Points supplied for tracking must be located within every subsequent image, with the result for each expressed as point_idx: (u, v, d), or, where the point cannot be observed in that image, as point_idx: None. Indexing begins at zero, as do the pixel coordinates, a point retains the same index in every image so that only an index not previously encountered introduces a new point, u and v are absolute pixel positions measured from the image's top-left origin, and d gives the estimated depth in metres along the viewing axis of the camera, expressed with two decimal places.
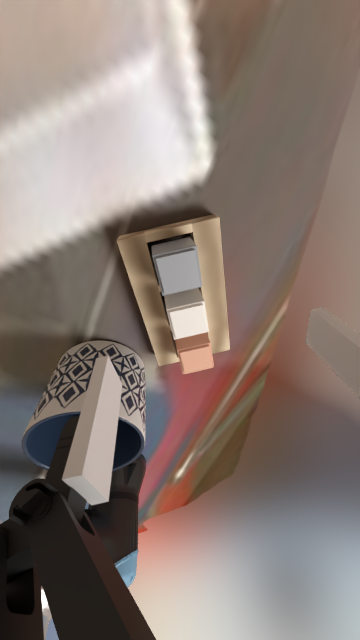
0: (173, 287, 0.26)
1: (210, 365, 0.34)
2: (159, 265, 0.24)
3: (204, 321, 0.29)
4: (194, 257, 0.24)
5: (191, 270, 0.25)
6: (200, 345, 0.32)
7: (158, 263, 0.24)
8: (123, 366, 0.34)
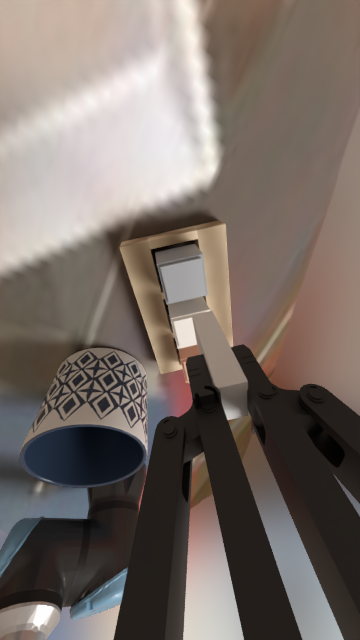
0: (178, 296, 0.25)
1: None
2: (164, 274, 0.23)
3: None
4: (200, 265, 0.23)
5: (197, 279, 0.24)
6: None
7: (163, 271, 0.23)
8: (125, 375, 0.34)
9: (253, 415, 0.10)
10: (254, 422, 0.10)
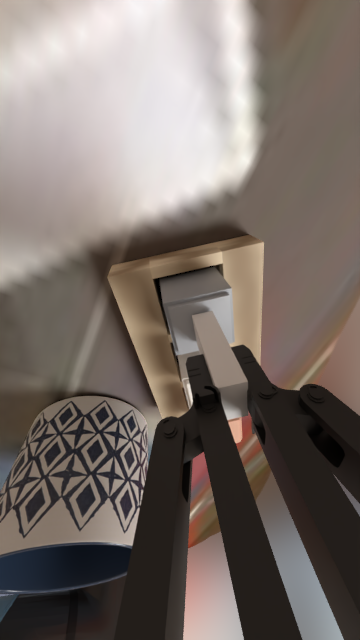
0: (193, 345, 0.17)
1: (238, 439, 0.24)
2: (173, 317, 0.16)
3: None
4: (227, 305, 0.16)
5: (221, 323, 0.16)
6: None
7: (172, 315, 0.15)
8: (118, 438, 0.25)
9: (253, 415, 0.10)
10: (254, 422, 0.10)
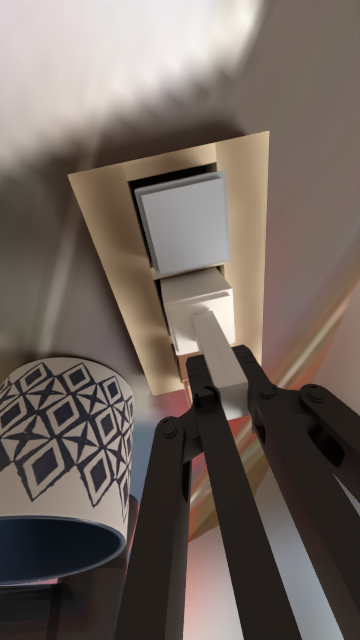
0: (177, 260, 0.14)
1: None
2: (149, 211, 0.12)
3: (230, 325, 0.17)
4: (220, 195, 0.12)
5: (212, 224, 0.13)
6: None
7: (147, 206, 0.12)
8: (94, 402, 0.21)
9: (253, 415, 0.10)
10: (254, 422, 0.10)
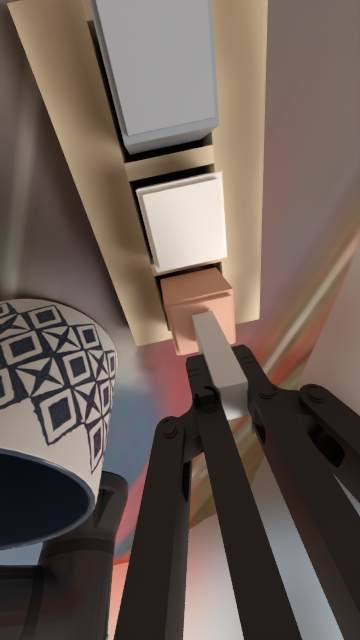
0: (149, 112, 0.10)
1: (230, 338, 0.17)
2: (106, 19, 0.09)
3: (220, 227, 0.14)
4: None
5: (194, 53, 0.10)
6: (213, 295, 0.16)
7: (102, 9, 0.09)
8: (64, 341, 0.18)
9: (253, 415, 0.10)
10: (254, 422, 0.10)
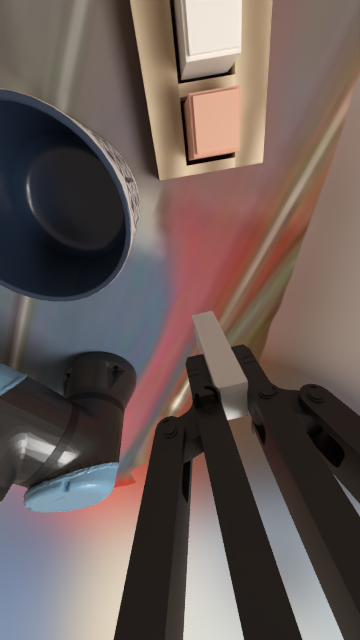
0: None
1: (236, 141, 0.23)
2: None
3: (237, 12, 0.18)
4: None
5: None
6: (225, 89, 0.21)
7: None
8: (106, 143, 0.23)
9: (253, 415, 0.10)
10: (254, 422, 0.10)
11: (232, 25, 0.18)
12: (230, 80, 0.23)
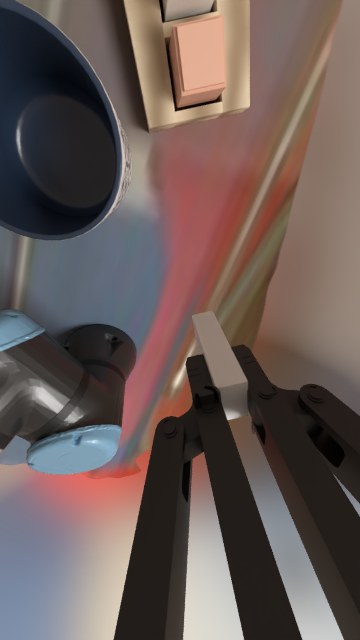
0: None
1: (221, 75, 0.23)
2: None
3: None
4: None
5: None
6: (208, 20, 0.21)
7: None
8: None
9: (253, 415, 0.10)
10: (254, 422, 0.10)
11: None
12: None
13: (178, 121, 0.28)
